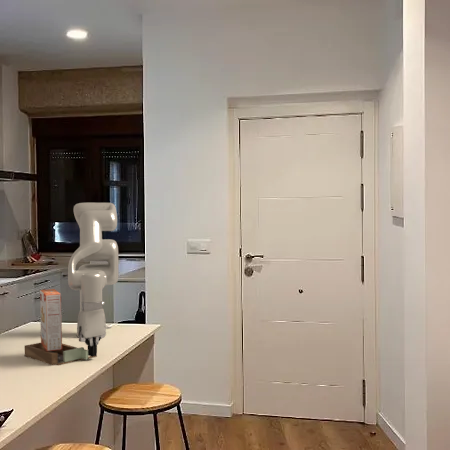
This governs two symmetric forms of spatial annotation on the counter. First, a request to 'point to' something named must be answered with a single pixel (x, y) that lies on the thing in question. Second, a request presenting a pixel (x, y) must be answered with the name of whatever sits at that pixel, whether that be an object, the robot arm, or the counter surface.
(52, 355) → the box
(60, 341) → the cracker box
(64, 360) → the pale green l-shaped block
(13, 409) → the counter surface
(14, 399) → the counter surface
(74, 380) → the counter surface
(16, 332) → the counter surface
